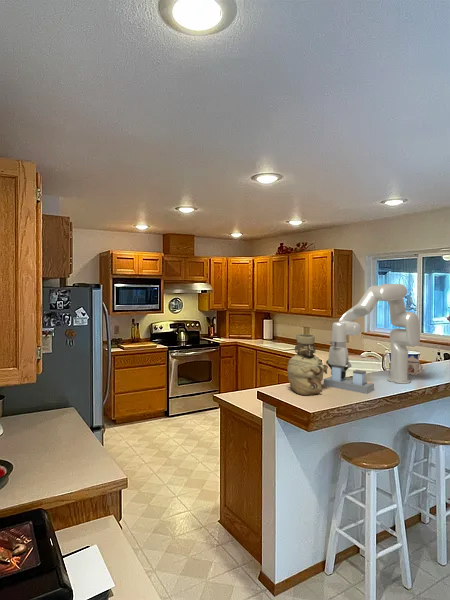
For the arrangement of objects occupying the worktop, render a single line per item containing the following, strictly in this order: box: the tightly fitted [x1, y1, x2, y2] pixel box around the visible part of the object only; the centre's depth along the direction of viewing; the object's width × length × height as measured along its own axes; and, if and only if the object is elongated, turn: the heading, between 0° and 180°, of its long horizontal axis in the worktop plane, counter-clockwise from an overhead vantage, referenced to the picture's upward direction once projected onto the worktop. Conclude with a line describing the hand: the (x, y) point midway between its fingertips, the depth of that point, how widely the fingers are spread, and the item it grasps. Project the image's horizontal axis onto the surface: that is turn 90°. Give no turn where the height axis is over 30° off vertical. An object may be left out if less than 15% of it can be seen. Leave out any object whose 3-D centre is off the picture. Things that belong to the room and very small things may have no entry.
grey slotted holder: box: [323, 375, 375, 395], centre depth 215 cm, size 10×24×5 cm, turn 49°
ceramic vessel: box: [286, 333, 329, 396], centre depth 211 cm, size 19×21×30 cm
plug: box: [331, 365, 344, 381], centre depth 218 cm, size 5×5×10 cm
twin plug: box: [352, 369, 367, 385], centre depth 211 cm, size 5×5×10 cm
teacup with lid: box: [407, 355, 424, 376], centre depth 257 cm, size 12×9×12 cm
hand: (338, 377), depth 219 cm, fingers closed on plug, 4 cm apart
